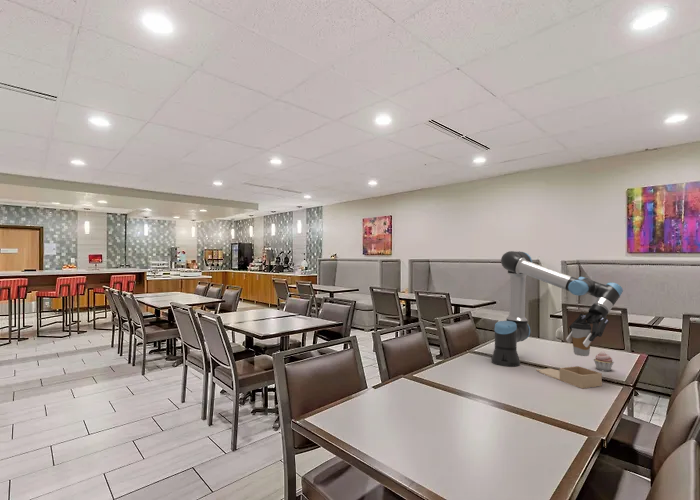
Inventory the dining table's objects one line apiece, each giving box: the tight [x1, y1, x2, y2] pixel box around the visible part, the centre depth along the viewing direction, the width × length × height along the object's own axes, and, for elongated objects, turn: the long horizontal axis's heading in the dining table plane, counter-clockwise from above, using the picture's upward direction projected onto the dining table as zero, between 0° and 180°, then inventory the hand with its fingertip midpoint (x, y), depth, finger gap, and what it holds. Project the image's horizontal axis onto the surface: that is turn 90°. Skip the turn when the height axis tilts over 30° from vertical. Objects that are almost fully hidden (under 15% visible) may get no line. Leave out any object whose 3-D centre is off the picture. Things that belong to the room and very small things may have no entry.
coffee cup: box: [570, 321, 592, 357], centre depth 175 cm, size 8×8×15 cm
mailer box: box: [536, 365, 603, 390], centre depth 182 cm, size 28×12×6 cm, turn 18°
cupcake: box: [592, 351, 615, 372], centre depth 198 cm, size 9×9×10 cm
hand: (576, 343), depth 174 cm, fingers closed on coffee cup, 8 cm apart
